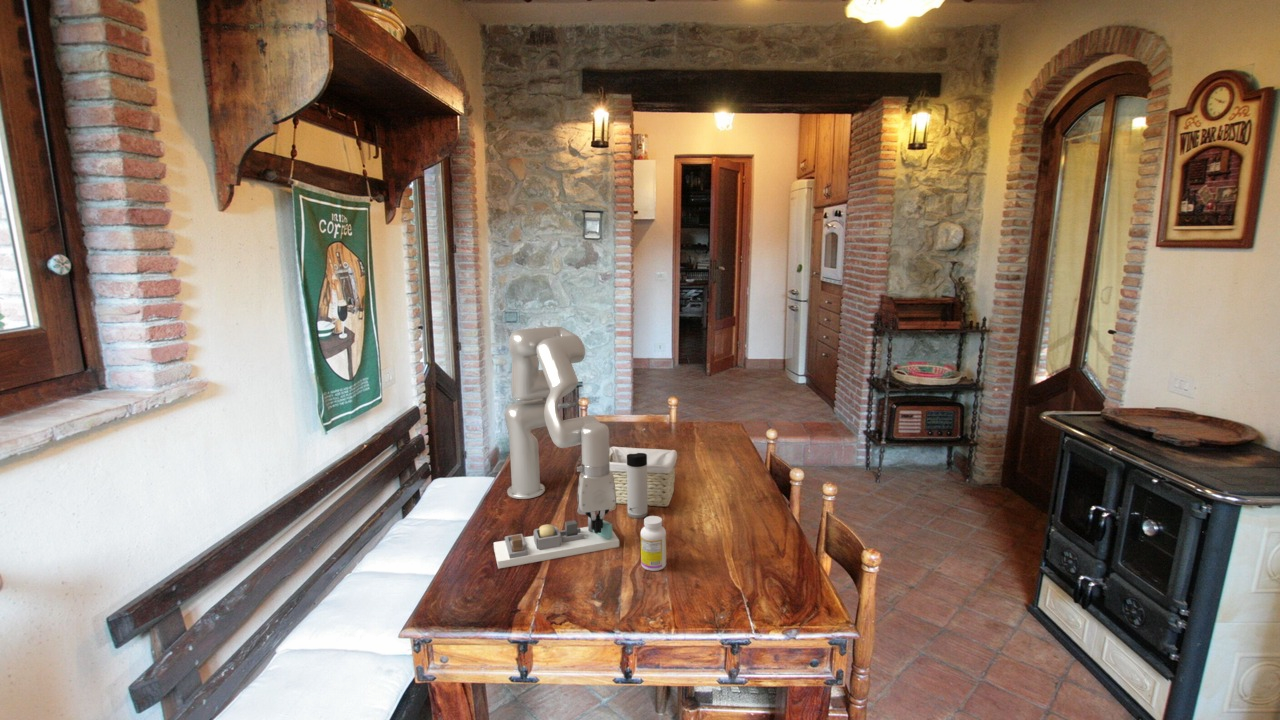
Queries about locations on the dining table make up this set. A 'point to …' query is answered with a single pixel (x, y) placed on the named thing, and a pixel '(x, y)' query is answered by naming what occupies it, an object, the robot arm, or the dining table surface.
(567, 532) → the grey rectangular block
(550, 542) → the board
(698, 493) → the dining table surface
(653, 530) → the supplement bottle
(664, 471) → the storage basket
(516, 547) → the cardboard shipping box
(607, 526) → the teal lever handle
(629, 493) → the travel mug
